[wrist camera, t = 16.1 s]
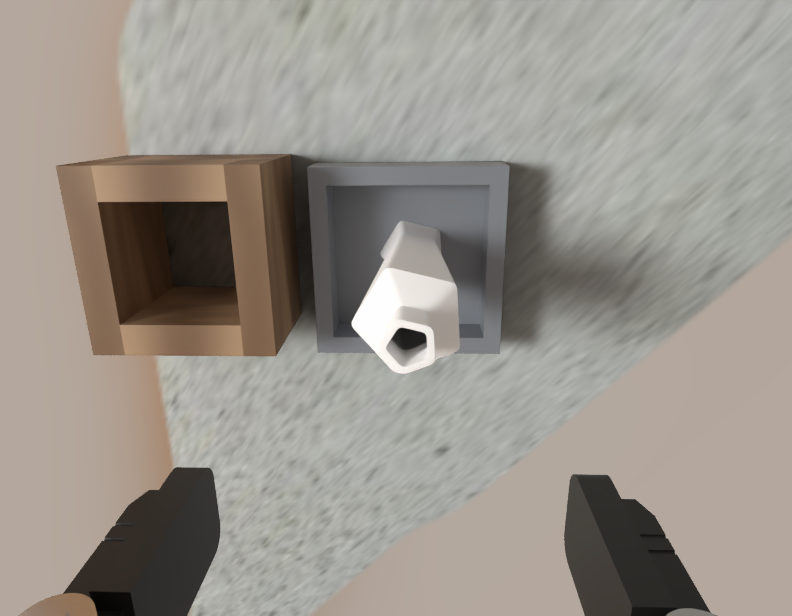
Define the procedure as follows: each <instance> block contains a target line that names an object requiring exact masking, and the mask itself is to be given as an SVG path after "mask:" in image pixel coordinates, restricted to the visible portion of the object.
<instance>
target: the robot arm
mask: <svg viewBox="0 0 792 616" xmlns="http://www.w3.org/2000/svg"><path fill="white" fill-rule="evenodd" d="M564 537H565V539H564V540H565V551H566V557H567V562H568V565H569V568H570V571H571V574H572V577H573V580H574V583H575V587H576V589H577V592H578V596H579V599H580V602H581V605H582V608H583V611H584V614H585V616H717V615H714V614H712V613H711V612H710V611H709V609H708V607H707V606H706V604H705V602H704V600H703V599H702V597H701V595H700V594H699V592H698V590H697V588H696V587H695V585H694V583H693V581H692V580H691V578H690V576H689V575H688V573H687V571H686V569H685V568H684V566H683V564H682V563H681V561H680V559H679V557H678V556H677V555H675V550H674V549H673V547H672V545H671V543H670V542H669V540H668V539H666V537H665V533H664V531H663V530H662V528H661V526H660V525H659V523H658V521H657V519H656V518H655V516H654V515H653V514H652V513H651V512H649V511H648V510H647V509H646V508H645V507H643V506H642V505H641V504H640V503H639V502H638V501H636V500H635V499H621V498H620V496H619V494H618V492H617V490H616V488H615V486H614V484H613V482H612V480H611V479H610V477H609V476H608V475H572V476H571V479H570V485H569V494H568V504H567V513H566V523H565V534H564ZM219 538H220V520H219V512H218V505H217V498H216V490H215V483H214V476H213V472H212V470H211V469H210V468H181V467H177V468H175V469H173V471H172V472H171V473H170V475H169V476H168V478H167V479H166V481H165V482H164V483H163V485H162V486H161V488H160V489H159V490H149V491H148V492H146V493H145V494H143V495H142V496H141V497H139V498H138V499H136V500H135V501H134V502H132V503H131V504H130V505H129V506H128V507H127V508H126V510H125V511H124V513H123V514H122V515H121V516H120V518H119V519H118V520H117V522H116V525H115V526H113V527H112V528H111V530H110V531H109V532H108V534H107V535H106V537H105V540H104V541H102V542H101V543H100V545H99V546H98V547H97V549H96V550H95V551H94V553H93V554H92V556H91V557H90V558H89V560H88V561H87V562H86V563H85V565H84V566H83V568H82V569H81V570H80V572H79V573H78V574H77V576H76V577H75V578H74V580H73V581H72V582H71V584H70V585H69V586H68V588H67V589H66V590H65V592H64V593H63V594H60V595H56V596H52V597H50V598H47V599H44V600H42V601H40V602H38V603H36V604H34V605H33V606H31V607H30V608H28V609H27V610H25V611H24V612H23V613H22V614H20V615H19V616H187V614H188V612H189V610H190V608H191V606H192V604H193V602H194V599H195V597H196V595H197V593H198V591H199V589H200V586H201V584H202V582H203V580H204V578H205V576H206V573H207V571H208V569H209V567H210V565H211V563H212V561H213V558H214V556H215V554H216V551H217V548H218V544H219Z"/></svg>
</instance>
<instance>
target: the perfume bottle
mask: <svg viewBox="0 0 792 616" xmlns="http://www.w3.org/2000/svg"><path fill="white" fill-rule="evenodd" d="M380 255H381V257H382V258H383V259H384V261H383V263H382V265H381V267H380V269H379V271H378V273H377V275H376V276H375V278H374V280H373V282H372V284H371V286H370V288H369V290H368V292H367V294H366V295H365V297H364V299H363V301H362V303H361V305H360V307H359V309H358V311H357V312H356V314H355V316H354V318H353V320H352V327H353V329H354V330H355V331H356V332H357V333H358V334H359V335H360V336H361V337H362V338H363V339H364V341H365V342H366V343H367V344H368V345H369V346H370V347H371V348H372V349H373V350H374V351H375V352H376V353H377V354H378V356H379V357H380V358H381V359H382V360H383V361H384V362H385V363H386V364H387V365H388V366H389V367H390V368H391V370H393V371H394V372H397V373H400V374H406V373H409V372H412V371H415V370H418V369H420V368H423V367H426V366H429V365H431V364H433V363H434V361H435V360H436V359H438V358H441V357H444V356H447V355H450V354H452V353H455V352H457V351H458V350H459V348H460V335H459V315H458V295H457V287H456V284H455V282H454V280H453V278H452V276H451V274H450V272H449V269H448V267H447V265H446V263H445V261H444V259H443V257H442V255H441V238H440V231H439V230H438V229H435V228H431V227H427V226H423V225H419V224H415V223H411V222H407V221H400V222H399V223H398V224H397V226H396V227H395V229H394V231H393V232H392V234H391V235H390V237H389V239H388V240H387V242H386V244H385V245H384V247H383V248H382V250H381V252H380Z"/></svg>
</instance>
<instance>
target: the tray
mask: <svg viewBox="0 0 792 616" xmlns="http://www.w3.org/2000/svg"><path fill="white" fill-rule="evenodd" d="M509 168H510V166H509V165H507V164H506V163H504V162H502V161H475V162H340V163H315V164H313V165H311V166H308V167H307V177H308V194H309V211H310V227H311V244H312V261H313V278H314V294H315V311H316V328H317V345H318V352H326V353H376V352H375V351H374V350H373V349H372V348H371V347H370V346H369V345H368V344H367V343H366V342H365V341H364V339H363V338H362V337H361V336H360V335H359V334H358V333H357V332H356V331H355V330H354V329H353V327H352V320H353V318H354V316H355V314H356V312H357V311H358V309H359V307H360V305H361V303H362V301H363V299H364V297H365V295H366V294H367V292H368V290H369V288H370V286H371V284H372V282H373V280H374V278H375V276H376V275H377V273H378V271H379V269H380V267H381V265H382V263H383V261H384V259H383V258H382V257H381V255H380V252H381V250H382V248H383V247H384V245H385V244H386V242H387V240H388V239H389V237H390V235H391V234H392V232H393V231H394V229H395V227H396V226H397V224H398V223H399V222H400V221H407V222H411V223H415V224H419V225H423V226H427V227H431V228H435V229H438V230H439V231H440V238H441V255H442V257H443V259H444V261H445V263H446V265H447V267H448V269H449V272H450V274H451V276H452V278H453V280H454V282H455V284H456V287H457V295H458V315H459V335H460V348H459V350H458V351H457V352H455V353H478V354H500V338H501V319H502V300H503V281H504V262H505V243H506V225H507V206H508V187H509Z"/></svg>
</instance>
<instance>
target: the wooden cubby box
mask: <svg viewBox="0 0 792 616" xmlns="http://www.w3.org/2000/svg"><path fill="white" fill-rule="evenodd" d="M56 169H57V174H58V179H59V184H60V189H61V194H62V199H63V204H64V209H65V214H66V220H67V225H68V229H69V234H70V240H71V245H72V250H73V255H74V259H75V265H76V270H77V275H78V279H79V284H80V290H81V295H82V299H83V305H84V310H85V315H86V319H87V325H88V330H89V335H90V339H91V345H92V350H93V355H164V356H276V355H277V354H278V352H279V350H280V349H281V347H282V345H283V343H284V342H285V340H286V338H287V337H288V335H289V333H290V332H291V330H292V328H293V327H294V325H295V323H296V322H297V320H298V318H299V316H300V315H301V313H302V310H301V295H300V281H299V266H298V252H297V237H296V222H295V208H294V193H293V178H292V164H291V154H256V155H132V156H120V157H113V158H106V159H99V160H93V161H86V162H79V163H73V164H65V165H58V166H56ZM201 201H227V204H228V213H229V223H230V232H231V242H232V251H233V261H234V270H235V279H236V287H174V286H173V279H172V272H171V265H170V258H169V251H168V244H167V237H166V230H165V223H164V216H163V209H162V202H201Z"/></svg>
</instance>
